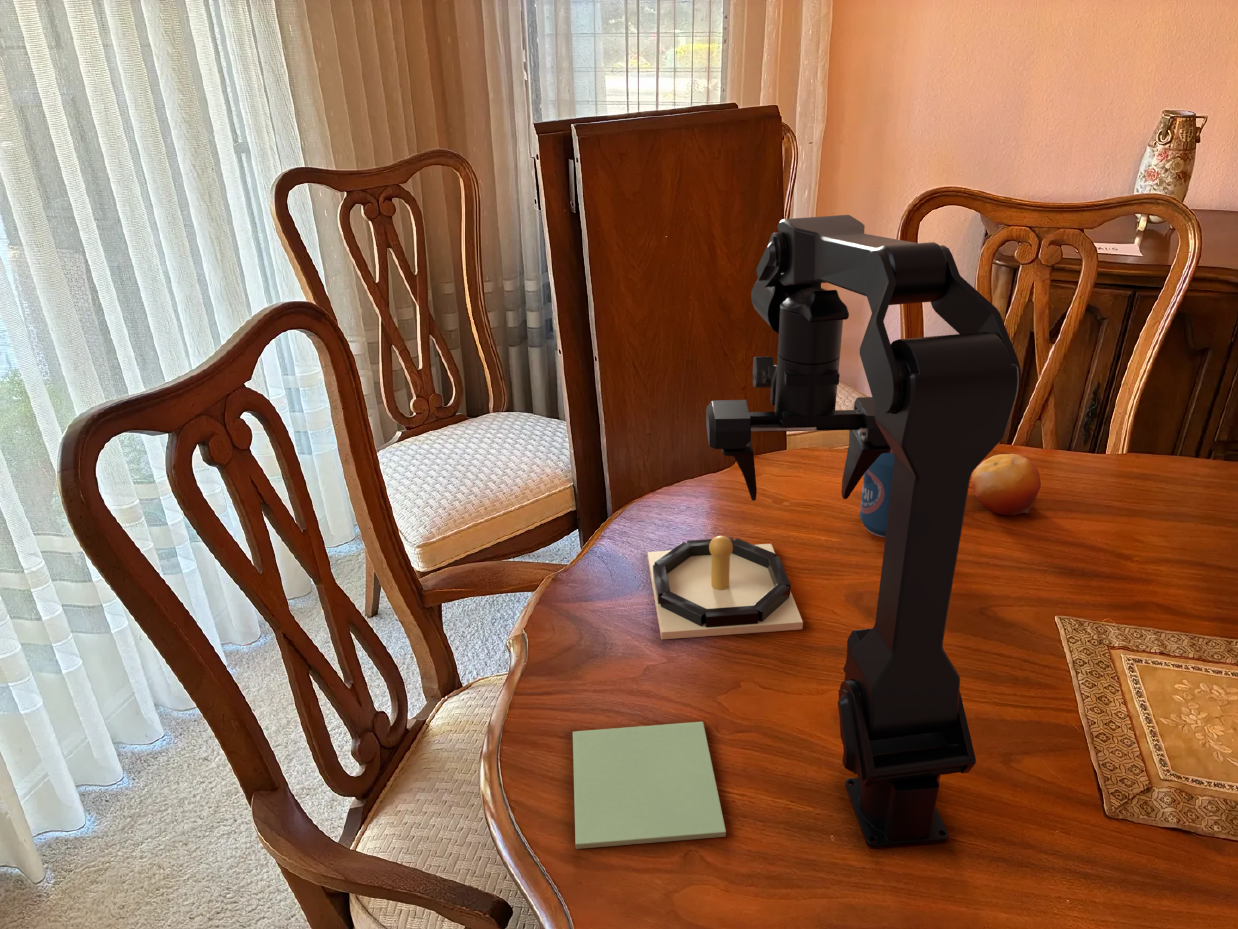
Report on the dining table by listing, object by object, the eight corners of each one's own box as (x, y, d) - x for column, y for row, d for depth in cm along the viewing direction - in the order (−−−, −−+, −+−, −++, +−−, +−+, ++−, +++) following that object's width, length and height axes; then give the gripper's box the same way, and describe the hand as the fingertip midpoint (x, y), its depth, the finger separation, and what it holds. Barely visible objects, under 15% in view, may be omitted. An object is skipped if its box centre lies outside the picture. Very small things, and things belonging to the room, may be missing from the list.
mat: (726, 837, 68) (726, 832, 68) (575, 849, 68) (575, 844, 68) (703, 726, 79) (703, 721, 79) (573, 736, 78) (572, 731, 78)
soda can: (849, 515, 110) (858, 431, 104) (900, 508, 111) (912, 425, 105) (872, 544, 104) (883, 457, 98) (926, 537, 105) (940, 450, 99)
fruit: (1060, 515, 105) (1034, 464, 103) (995, 538, 109) (969, 489, 106) (1045, 483, 112) (1020, 434, 110) (985, 506, 115) (960, 459, 113)
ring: (800, 620, 90) (801, 610, 89) (662, 630, 90) (662, 620, 89) (770, 544, 103) (770, 534, 102) (649, 552, 102) (648, 542, 102)
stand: (802, 629, 90) (807, 572, 87) (661, 639, 90) (660, 583, 86) (770, 550, 104) (773, 498, 100) (647, 558, 103) (646, 506, 100)
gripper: (888, 323, 87) (872, 459, 94) (703, 327, 88) (702, 462, 95) (919, 363, 77) (899, 512, 84) (710, 368, 78) (708, 515, 85)
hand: (798, 497), depth 87 cm, fingers open, 9 cm apart
